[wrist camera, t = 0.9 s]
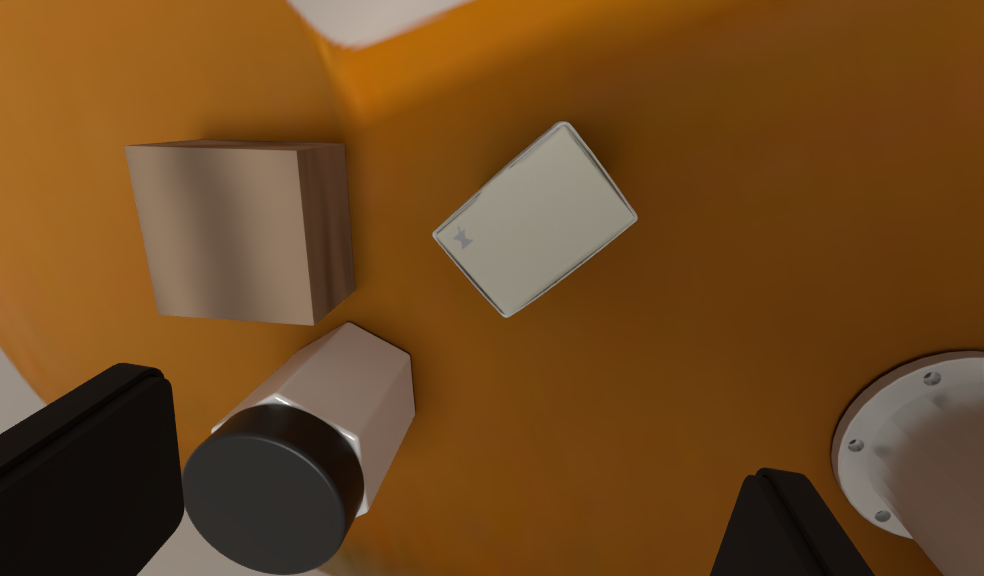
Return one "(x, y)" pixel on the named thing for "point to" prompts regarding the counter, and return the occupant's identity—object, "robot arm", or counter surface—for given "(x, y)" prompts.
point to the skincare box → (536, 220)
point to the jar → (302, 454)
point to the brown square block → (245, 228)
